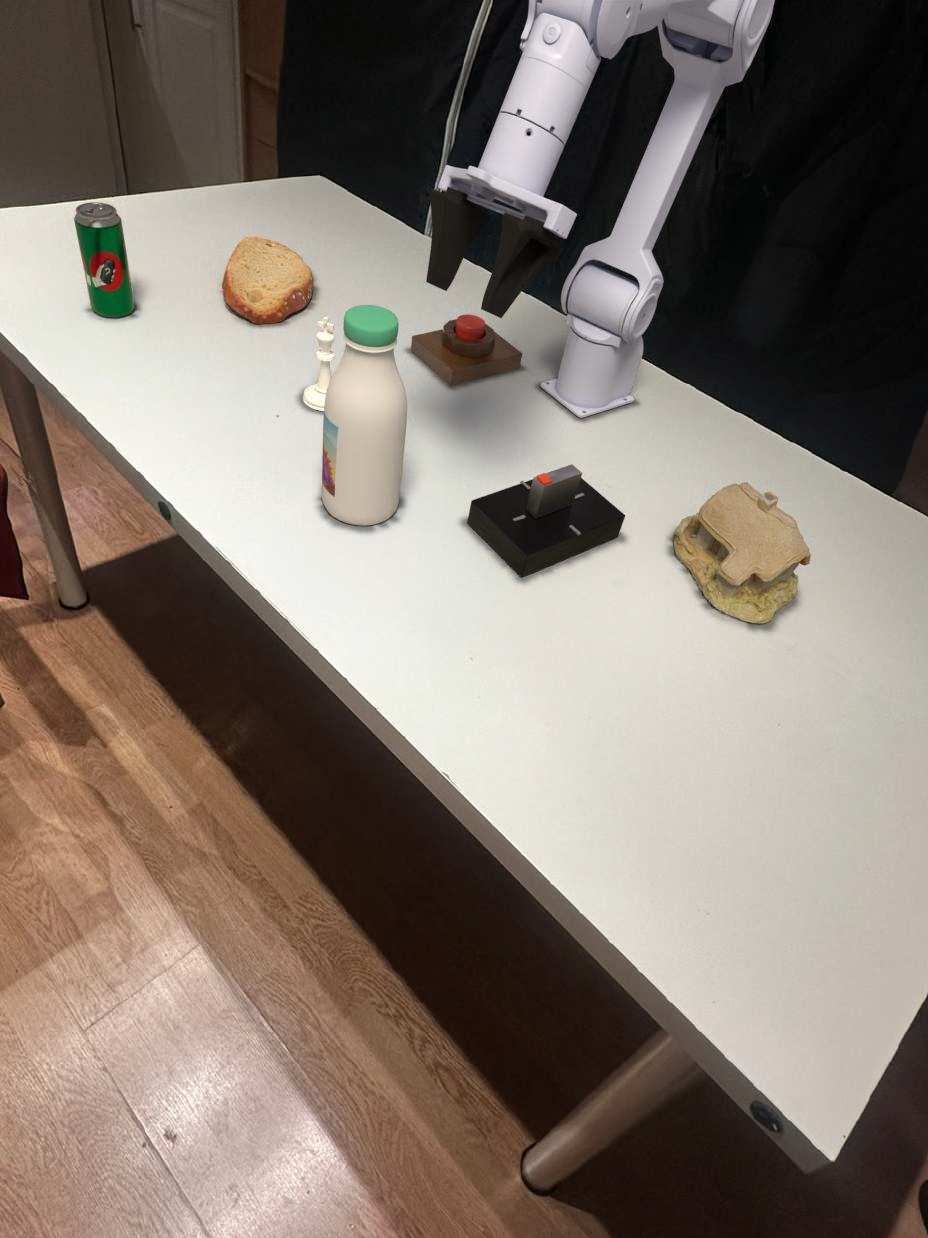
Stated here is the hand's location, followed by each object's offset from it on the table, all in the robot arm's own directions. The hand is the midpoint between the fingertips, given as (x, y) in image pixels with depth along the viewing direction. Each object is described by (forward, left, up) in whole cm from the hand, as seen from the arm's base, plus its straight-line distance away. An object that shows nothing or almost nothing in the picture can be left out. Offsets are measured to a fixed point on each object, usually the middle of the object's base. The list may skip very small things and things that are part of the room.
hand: (462, 299), depth 70 cm
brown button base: (-20, -22, -22) cm, 37 cm away
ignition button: (-20, -22, -18) cm, 35 cm away
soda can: (+15, -49, -22) cm, 56 cm away
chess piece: (+1, -21, -22) cm, 30 cm away
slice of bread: (-5, -49, -22) cm, 54 cm away
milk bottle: (+7, -3, -22) cm, 23 cm away
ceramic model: (-21, +23, -22) cm, 38 cm away
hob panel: (-7, +9, -22) cm, 25 cm away
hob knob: (-7, +9, -19) cm, 22 cm away
